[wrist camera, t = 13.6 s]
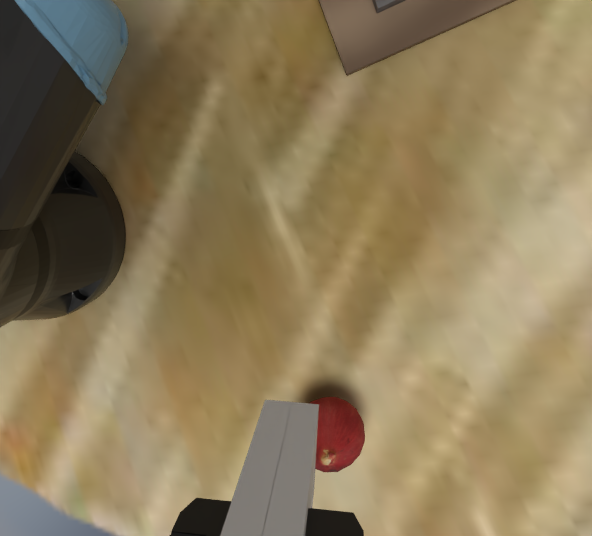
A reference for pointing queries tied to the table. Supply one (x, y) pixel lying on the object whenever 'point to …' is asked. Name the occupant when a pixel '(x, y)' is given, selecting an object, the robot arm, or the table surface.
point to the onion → (337, 434)
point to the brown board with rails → (394, 25)
